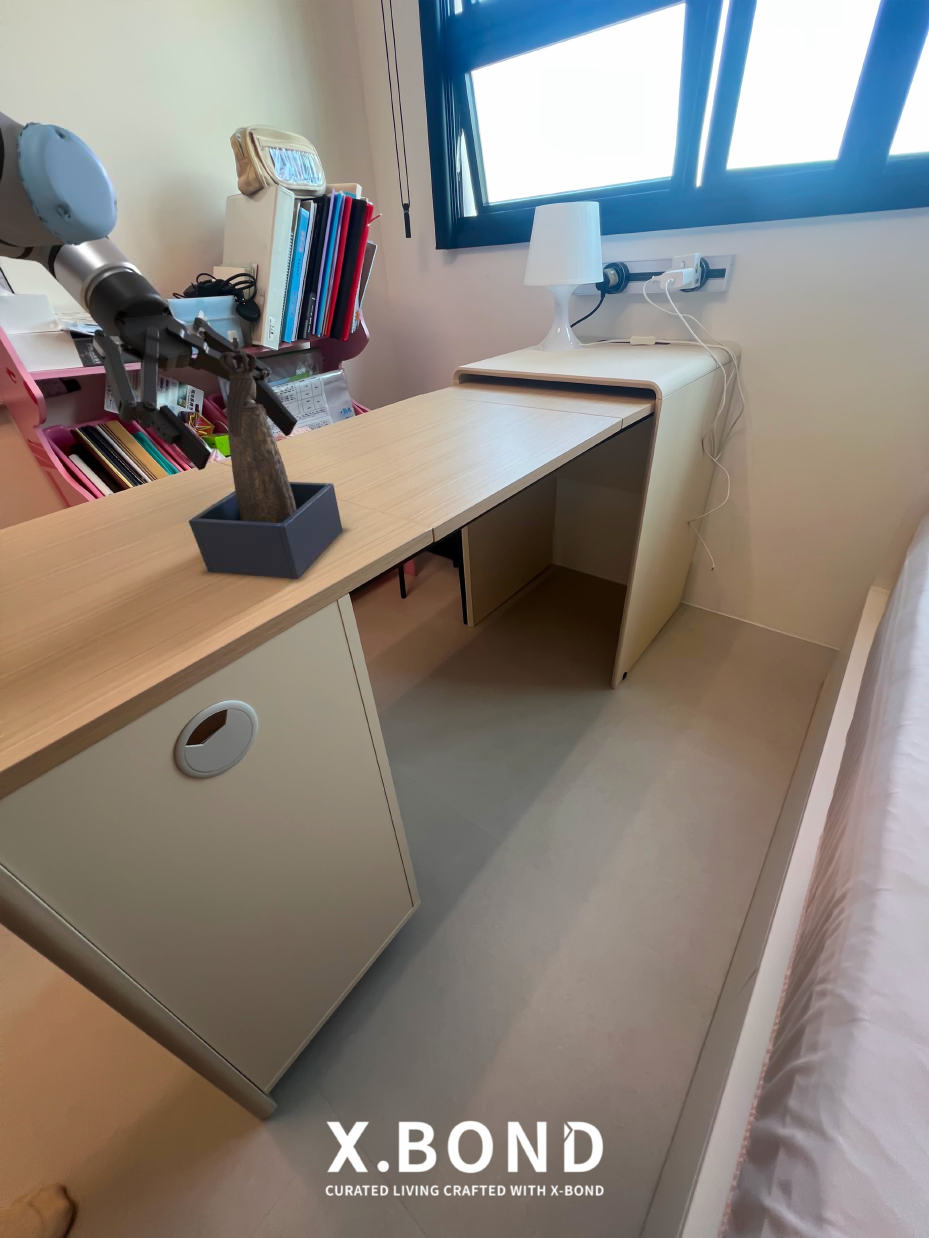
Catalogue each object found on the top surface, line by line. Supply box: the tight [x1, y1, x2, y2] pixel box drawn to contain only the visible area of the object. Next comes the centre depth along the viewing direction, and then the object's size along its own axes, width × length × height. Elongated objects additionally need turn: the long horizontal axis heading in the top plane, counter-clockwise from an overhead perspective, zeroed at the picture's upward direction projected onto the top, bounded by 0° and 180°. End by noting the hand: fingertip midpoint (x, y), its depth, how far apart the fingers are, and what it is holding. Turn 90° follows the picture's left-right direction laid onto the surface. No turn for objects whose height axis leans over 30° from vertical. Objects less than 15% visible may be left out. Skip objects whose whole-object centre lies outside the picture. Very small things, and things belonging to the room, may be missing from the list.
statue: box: [219, 337, 297, 523], centre depth 61 cm, size 9×8×25 cm
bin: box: [188, 481, 344, 580], centre depth 66 cm, size 13×14×7 cm
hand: (252, 444), depth 60 cm, fingers open, 13 cm apart
